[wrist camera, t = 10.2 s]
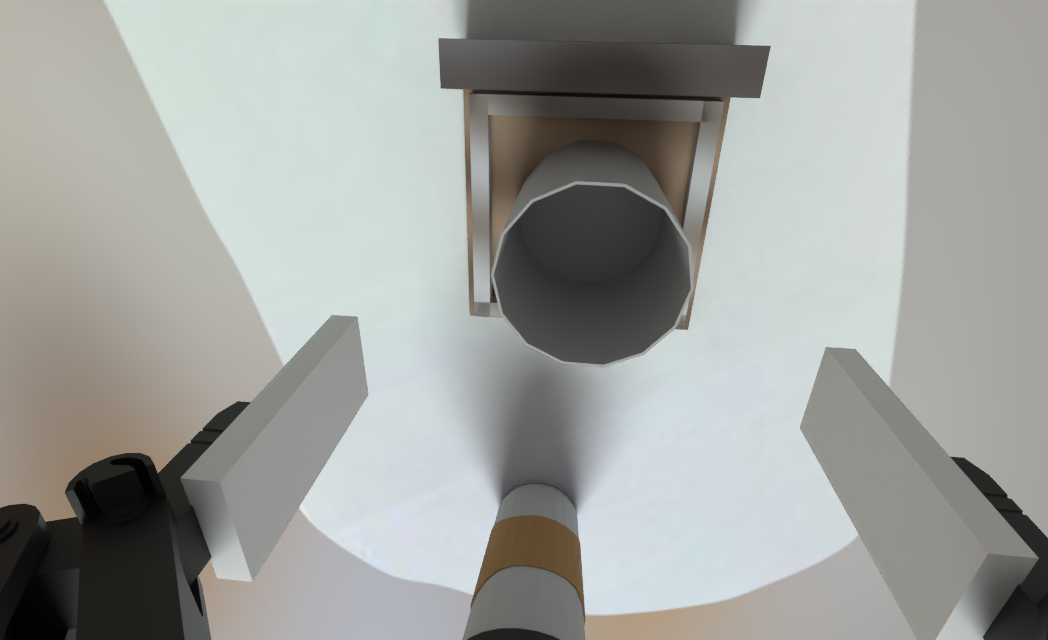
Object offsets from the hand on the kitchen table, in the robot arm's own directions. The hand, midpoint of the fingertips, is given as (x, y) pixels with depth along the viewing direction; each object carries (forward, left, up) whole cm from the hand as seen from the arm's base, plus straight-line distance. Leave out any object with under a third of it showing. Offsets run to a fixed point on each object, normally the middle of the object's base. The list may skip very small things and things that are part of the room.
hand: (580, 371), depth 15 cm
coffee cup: (+26, -2, -19) cm, 32 cm away
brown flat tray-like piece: (0, 0, -19) cm, 19 cm away
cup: (0, 0, -18) cm, 18 cm away
